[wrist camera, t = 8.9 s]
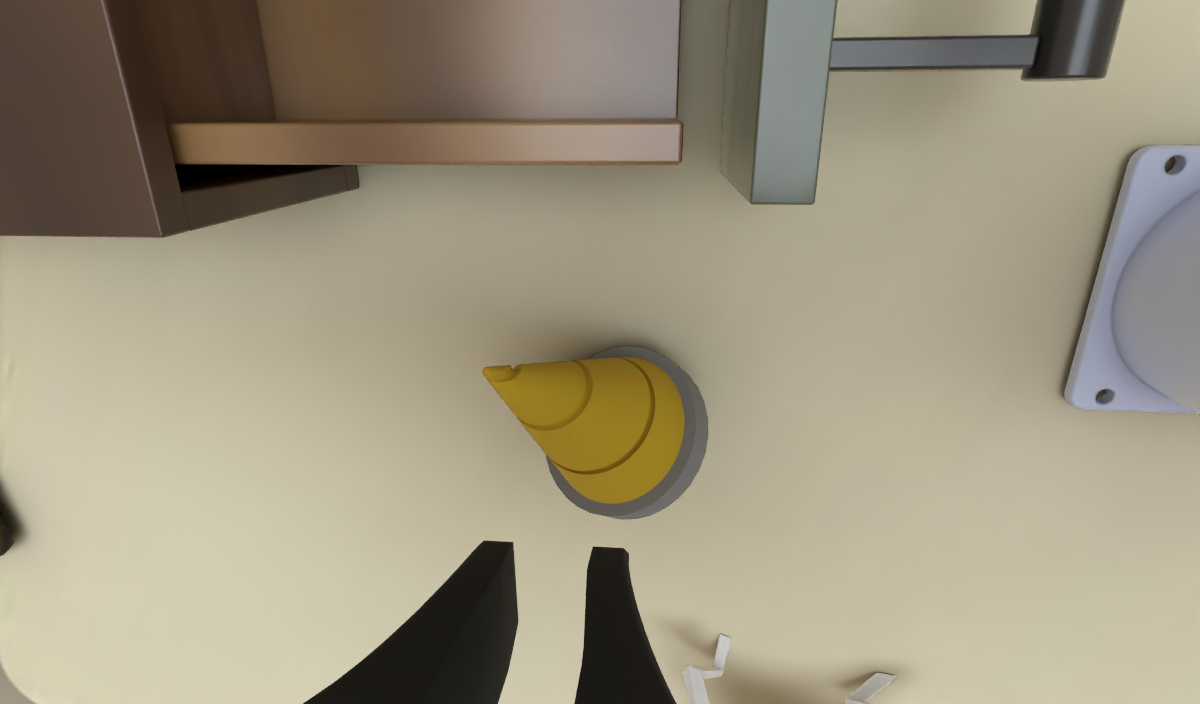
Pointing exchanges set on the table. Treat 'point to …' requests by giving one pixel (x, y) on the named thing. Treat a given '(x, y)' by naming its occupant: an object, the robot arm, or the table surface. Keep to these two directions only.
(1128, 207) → the robot arm
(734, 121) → the drawer
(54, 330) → the table surface
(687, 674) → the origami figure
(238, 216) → the cabinet
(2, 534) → the seal
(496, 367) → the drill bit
